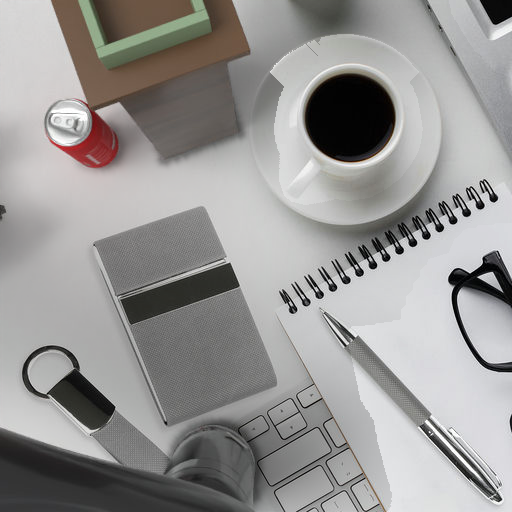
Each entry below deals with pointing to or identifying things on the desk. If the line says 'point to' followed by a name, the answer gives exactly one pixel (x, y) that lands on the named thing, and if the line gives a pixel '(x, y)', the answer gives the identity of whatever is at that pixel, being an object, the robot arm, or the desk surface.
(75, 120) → the beverage can
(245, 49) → the can holder
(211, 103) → the stand column
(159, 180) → the desk surface
